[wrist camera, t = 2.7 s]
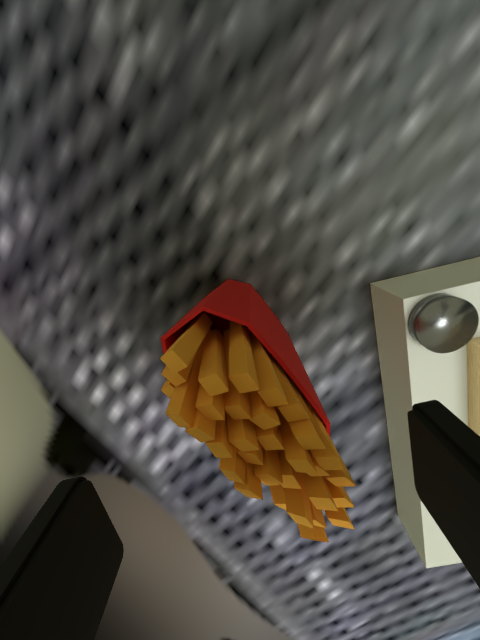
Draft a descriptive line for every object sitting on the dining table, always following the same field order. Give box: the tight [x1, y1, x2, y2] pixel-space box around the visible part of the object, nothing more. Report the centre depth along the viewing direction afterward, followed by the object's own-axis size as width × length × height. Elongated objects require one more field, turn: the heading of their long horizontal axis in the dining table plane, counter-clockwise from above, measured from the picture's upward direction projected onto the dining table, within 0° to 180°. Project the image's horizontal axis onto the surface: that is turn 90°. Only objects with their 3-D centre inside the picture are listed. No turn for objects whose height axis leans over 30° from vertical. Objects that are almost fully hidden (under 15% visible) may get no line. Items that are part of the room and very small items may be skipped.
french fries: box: [160, 279, 356, 542], centre depth 14 cm, size 8×4×12 cm, turn 37°
